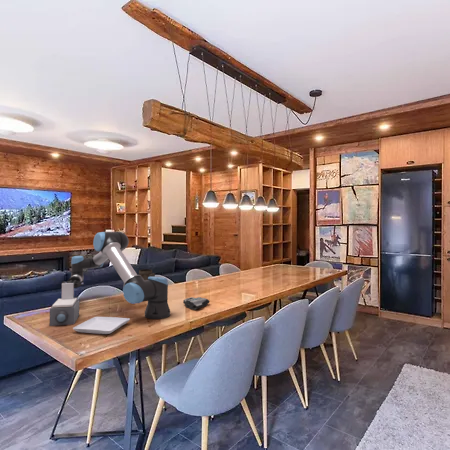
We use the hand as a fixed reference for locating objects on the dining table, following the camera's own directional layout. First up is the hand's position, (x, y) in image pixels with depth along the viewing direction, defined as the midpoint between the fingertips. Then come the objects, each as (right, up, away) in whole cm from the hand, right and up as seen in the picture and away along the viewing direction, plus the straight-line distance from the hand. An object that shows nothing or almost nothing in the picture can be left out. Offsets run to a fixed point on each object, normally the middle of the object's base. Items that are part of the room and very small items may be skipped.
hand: (68, 288), depth 192 cm
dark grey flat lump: (+73, -17, +25) cm, 79 cm away
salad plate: (+29, -17, -23) cm, 41 cm away
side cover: (+3, -7, -10) cm, 12 cm away
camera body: (+3, -16, -11) cm, 20 cm away
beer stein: (+35, -16, +53) cm, 65 cm away
